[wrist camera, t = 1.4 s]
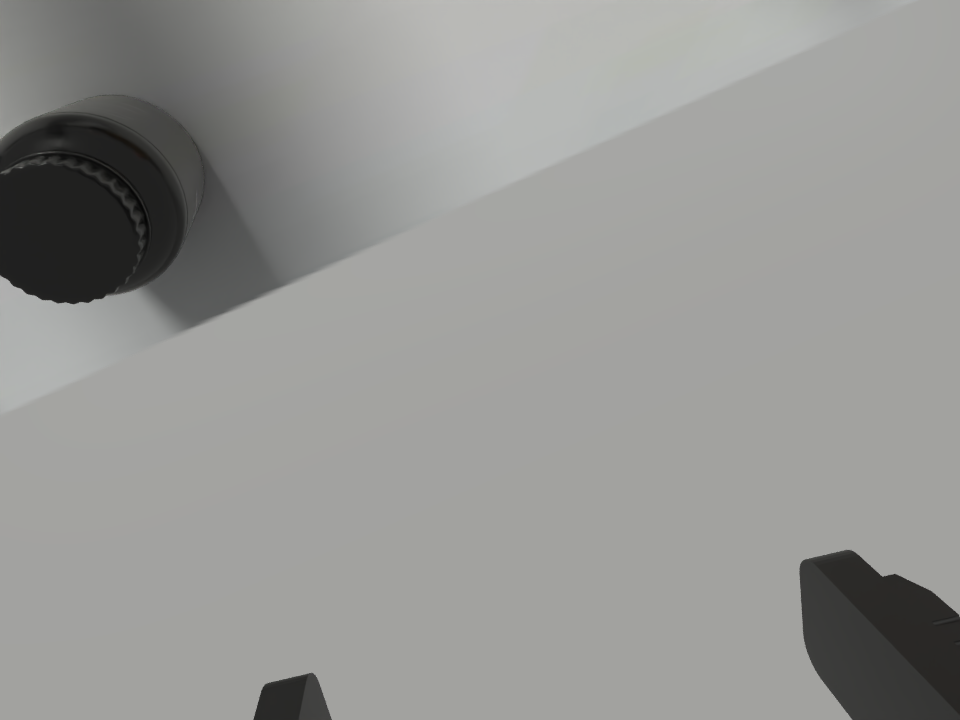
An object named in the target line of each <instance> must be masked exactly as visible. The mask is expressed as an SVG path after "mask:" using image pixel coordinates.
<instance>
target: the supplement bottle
mask: <svg viewBox="0 0 960 720" xmlns="http://www.w3.org/2000/svg"><path fill="white" fill-rule="evenodd" d="M203 190H204V170H203V164H202V160H201V157H200V154H199V152H198V150H197V148H196V145H195V144H194V142H193V140H192V139H191V137H190V136H189V134H188V133H187V132H186V130H185V129H184V128H183V127H182V126H181V125H180V124H179V123H178V122H177V121H176V120H175V119H174V118H173V117H171V116H170V115H169V114H168V113H166V112H165V111H163V110H162V109H160V108H158V107H157V106H155V105H152V104H150V103H148V102H146V101H143V100H140V99H137V98H133V97H128V96H121V95H102V96H95V97H91V98H87V99H84V100H81V101H78V102H75V103H72V104H70V105H67V106H64V107H62V108H59V109H56V110H54V111H51V112H48V113H46V114H43V115H41V116H38V117H35V118H33V119H31V120H28V121H26V122H24V123H23V124H21V125H19V126H17V127H16V128H14V129H13V130H11V131H10V132H9V133H7V134H6V135H5V136H4V137H3V138H2V139H1V140H0V276H2V277H4V278H6V279H8V280H9V281H10V283H11V284H12V285H13V286H15V287H17V288H21V289H22V290H23V291H24V292H25V293H27V294H29V295H35V296H37V297H38V298H40V299H42V300H52V301H54V302H56V303H64V302H67V303H70V304H76V303H79V302H86V303H89V302H91V301H92V300H94V299H103V298H104V297H105V296H111V295H117V294H122V293H126V292H130V291H133V290H136V289H138V288H140V287H143V286H145V285H147V284H148V283H150V282H152V281H153V280H155V279H156V278H157V277H159V276H160V275H161V274H162V273H163V272H164V271H165V270H166V269H167V268H168V267H169V266H170V265H171V263H172V262H173V261H174V259H175V258H176V256H177V255H178V253H179V251H180V249H181V247H182V245H183V243H184V240H185V238H186V236H187V234H188V231H189V229H190V227H191V224H192V222H193V220H194V217H195V215H196V213H197V210H198V208H199V205H200V202H201V199H202V196H203Z"/></svg>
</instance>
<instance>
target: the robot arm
mask: <svg viewBox="0 0 960 720" xmlns="http://www.w3.org/2000/svg"><path fill="white" fill-rule="evenodd" d="M800 587H801V603H802V619H803V634H804V641H805V645H806V649H807V652H808V655H809V657H810V660H811V662H812V664H813V666H814V668H815V670H816V671H817V673H818V675H819V676H820V678H821V679H822V681H823V682H824V683H825V684H826V686H827V687H828V688H829V690H830V691H831V692H832V694H833V695H834V696H835V698H836V699H837V700H838V701H839V703H840V704H841V705H842V707H843V708H844V709H845V711H846V712H847V713H848V714H849V716H850V717H851V718H852V720H960V617H959V615H958V614H957V613H956V612H955V611H954V610H953V609H952V608H950V607H949V606H948V605H947V604H946V603H944V602H943V601H942V600H941V599H940V598H939V597H938V596H936V595H935V594H934V593H933V592H932V591H930V590H928V589H926V588H924V587H921V586H919V585H917V584H915V583H913V582H911V581H909V580H907V579H905V578H903V577H901V576H898V575H896V574H893V575H888V576H884V577H882V576H881V575H880V574H879V573H878V572H876V571H875V570H874V569H873V568H872V567H871V566H870V565H869V564H868V563H866V562H865V561H864V560H863V559H862V558H861V557H860V556H859V555H857V554H856V553H855V552H853V551H851V550H844V551H840V552H836V553H831V554H827V555H823V556H819V557H814V558H810V559H806V560H803V561H802V563H801V564H800ZM254 720H332V719H331V716H330V714H329V710H328V708H327V705H326V702H325V699H324V696H323V693H322V690H321V687H320V684H319V682H318V680H317V677H316V676H315V675H314V674H313V673H309V674H305V675H301V676H296V677H292V678H288V679H284V680H279V681H275V682H271V683H268V684H265V686H264V687H263V689H262V691H261V695H260V698H259V702H258V705H257V709H256V712H255V716H254Z"/></svg>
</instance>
